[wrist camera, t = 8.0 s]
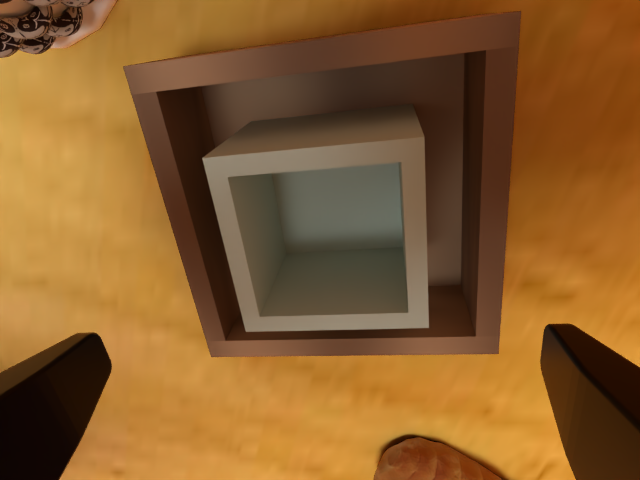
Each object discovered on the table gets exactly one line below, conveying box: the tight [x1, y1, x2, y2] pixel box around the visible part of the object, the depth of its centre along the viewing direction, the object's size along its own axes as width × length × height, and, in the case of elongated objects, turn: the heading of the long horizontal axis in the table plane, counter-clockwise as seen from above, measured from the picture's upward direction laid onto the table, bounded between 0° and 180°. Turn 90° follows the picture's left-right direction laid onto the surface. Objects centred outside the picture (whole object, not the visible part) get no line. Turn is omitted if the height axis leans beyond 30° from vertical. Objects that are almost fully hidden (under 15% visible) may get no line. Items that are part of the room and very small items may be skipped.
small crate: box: [202, 104, 429, 332], centre depth 15 cm, size 6×6×5 cm
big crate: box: [123, 11, 521, 357], centre depth 16 cm, size 11×11×4 cm
